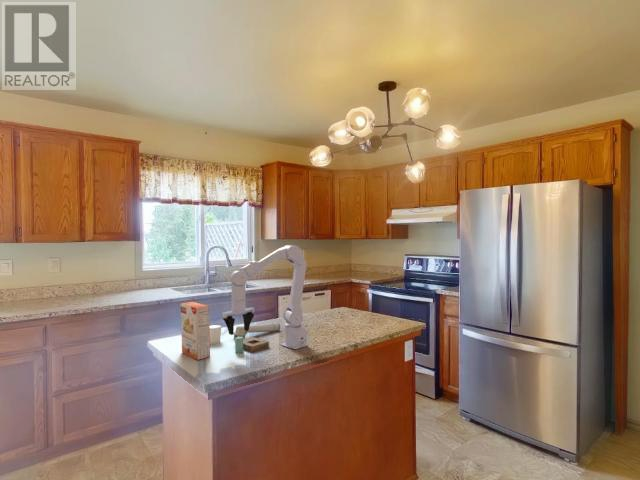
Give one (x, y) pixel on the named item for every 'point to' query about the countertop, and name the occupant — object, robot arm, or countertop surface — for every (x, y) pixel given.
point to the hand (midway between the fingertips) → (238, 332)
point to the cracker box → (195, 330)
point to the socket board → (254, 344)
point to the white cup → (215, 333)
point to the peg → (239, 345)
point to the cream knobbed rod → (256, 329)
